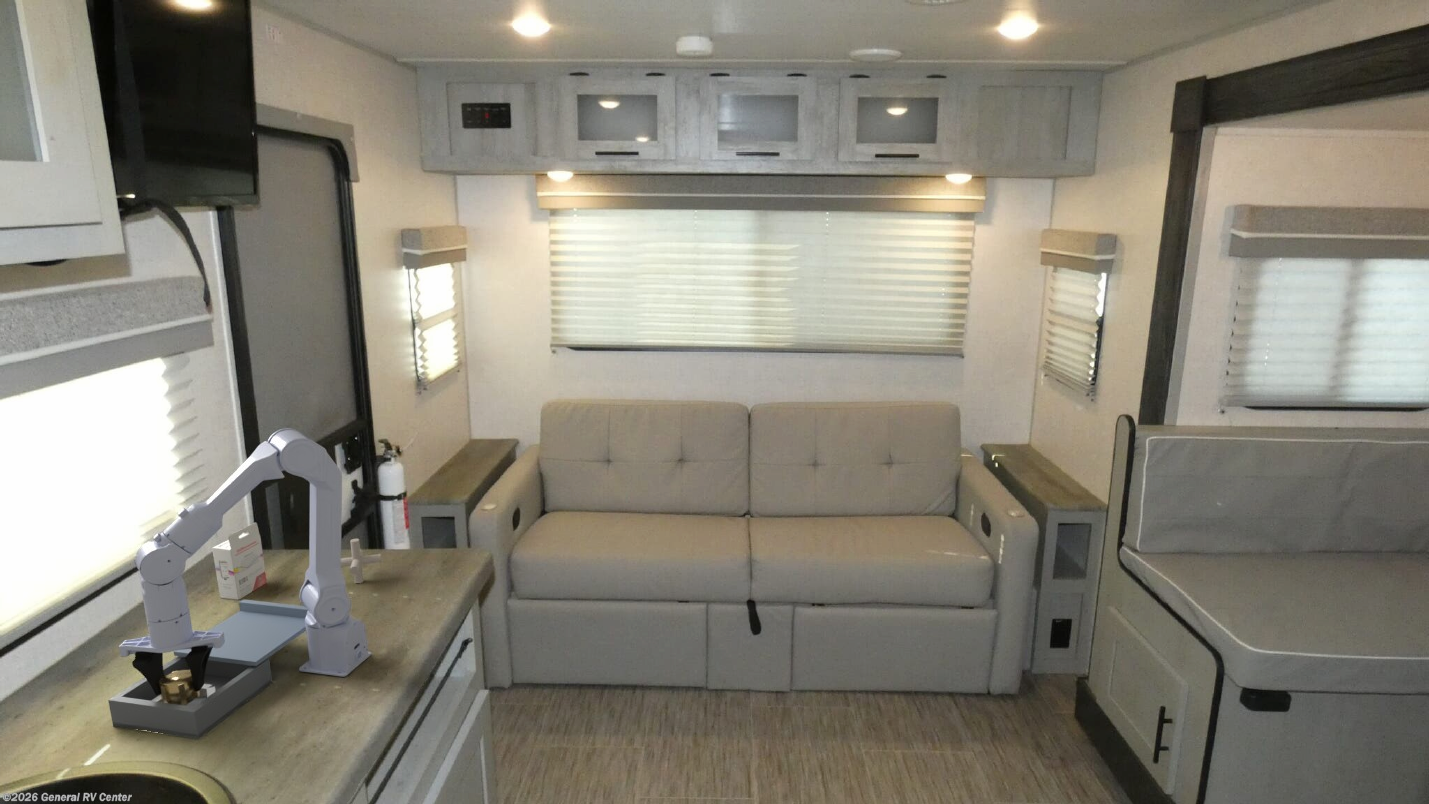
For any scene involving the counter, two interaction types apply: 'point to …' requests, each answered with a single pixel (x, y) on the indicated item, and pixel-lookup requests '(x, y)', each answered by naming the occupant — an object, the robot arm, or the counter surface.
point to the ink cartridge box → (240, 563)
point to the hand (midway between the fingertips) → (180, 689)
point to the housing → (216, 701)
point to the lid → (256, 632)
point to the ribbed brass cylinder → (178, 688)
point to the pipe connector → (358, 560)
